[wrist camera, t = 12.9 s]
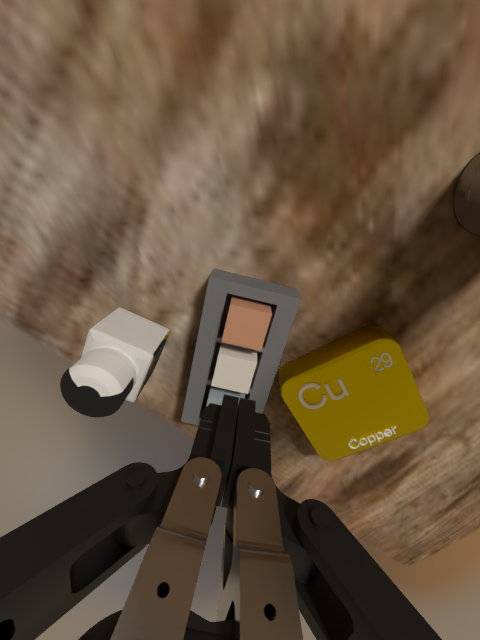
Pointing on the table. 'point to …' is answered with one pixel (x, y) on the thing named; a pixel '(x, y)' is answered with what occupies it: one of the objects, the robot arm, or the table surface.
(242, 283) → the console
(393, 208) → the table surface
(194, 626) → the robot arm
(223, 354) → the ivory key
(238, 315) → the terracotta key
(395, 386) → the element tile
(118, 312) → the medicine bottle
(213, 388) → the slate key
